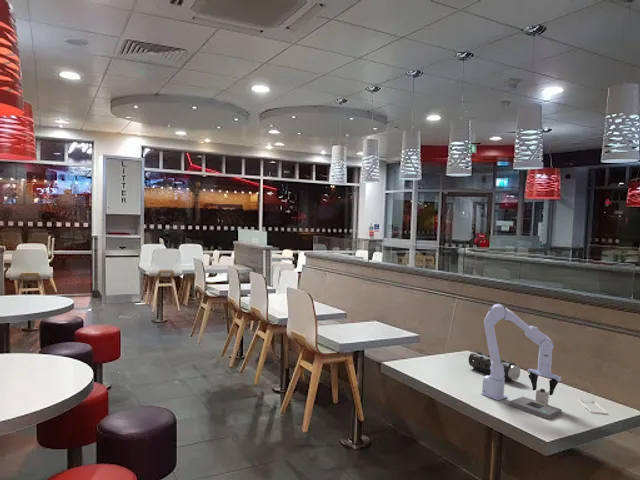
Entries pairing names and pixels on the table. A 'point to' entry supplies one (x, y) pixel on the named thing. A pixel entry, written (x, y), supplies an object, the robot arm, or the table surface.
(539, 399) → the charger plug
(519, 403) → the charging plate
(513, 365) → the muzzle brake
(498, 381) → the robot arm
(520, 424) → the table surface
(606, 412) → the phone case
